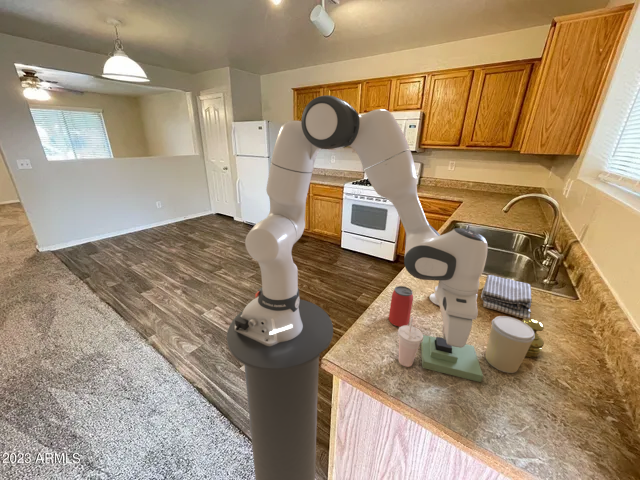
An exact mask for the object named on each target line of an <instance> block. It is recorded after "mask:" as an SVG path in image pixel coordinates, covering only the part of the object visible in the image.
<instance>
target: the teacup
mask: <svg viewBox="0 0 640 480" xmlns="http://www.w3.org/2000/svg"><path fill="white" fill-rule="evenodd" d="M437 288H438V285H437V286H435V287H434V293H431V294H430V295H429V300H430V301H431V302H432V303H433V304H435V305H436V306H439V307H440V304H439V298H438V296H437Z"/></svg>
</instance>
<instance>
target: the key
mask: <svg viewBox="0 0 640 480" xmlns="http://www.w3.org/2000/svg"><path fill="white" fill-rule="evenodd" d="M435 337H436V341H435V343H436V350H439V351H443V352H447V353H451V351H452V346H450V345H448V344H447V342H446V340H445V339H443V337H440V336H435Z"/></svg>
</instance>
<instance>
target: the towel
mask: <svg viewBox="0 0 640 480" xmlns="http://www.w3.org/2000/svg"><path fill="white" fill-rule="evenodd" d="M531 287H532V285H531V284H530V283H527V282H523V281H517V280H513V279H510V278H505V277H500V276H497V275H492V274H486V278H485V282H484V285H483V289H482V290H481V294H480V299H481V300H482V301H483V305H482V306H483V307H484V308H487V309H491V310H494V311H497V312H500V313H504V314H508V315H510V316H514V317H516V318H520V319H522V320H523V319H525V318H529V319H531V314H532V311H531V307H532V306H531V305H532V303H533V300H532V288H531Z"/></svg>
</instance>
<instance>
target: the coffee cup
mask: <svg viewBox="0 0 640 480" xmlns="http://www.w3.org/2000/svg"><path fill="white" fill-rule="evenodd" d="M534 338H535V334H534V331H533V330H532V328H531V327H530V326H528V325H527V324H525V323H524V322H522V320H519V319H518V318H515V317H511V316H506V315H499V316H496V317H494V318H493V319H492V320H491V326H490V329H489V335H488V340H487V345H486V349H485V354H484V356H485V360H486V361H487V363H488V364H489V365H490V366H491V367H493V368H494V369H496V370H498V371H500V372H503V373H506V374H514V373H517V371H518V370H519V368H520V366H521V365H522V363H523V361H524V359H525V357H526V356H525V355H526V353H527V351H528V349H529V347H530V345H531V343H532V341H533V340H534Z"/></svg>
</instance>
